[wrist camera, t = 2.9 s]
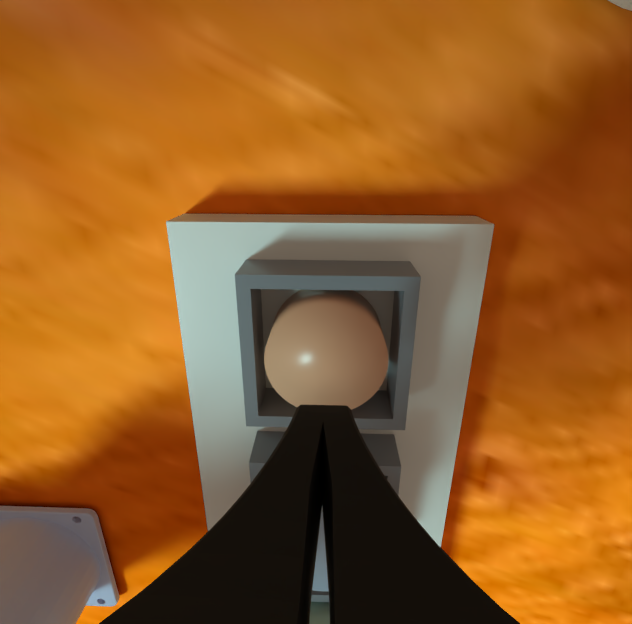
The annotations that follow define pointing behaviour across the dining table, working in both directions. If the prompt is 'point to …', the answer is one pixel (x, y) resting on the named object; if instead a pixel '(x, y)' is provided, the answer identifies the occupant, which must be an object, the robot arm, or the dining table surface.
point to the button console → (330, 274)
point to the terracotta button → (326, 349)
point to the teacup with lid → (623, 3)
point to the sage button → (319, 613)
